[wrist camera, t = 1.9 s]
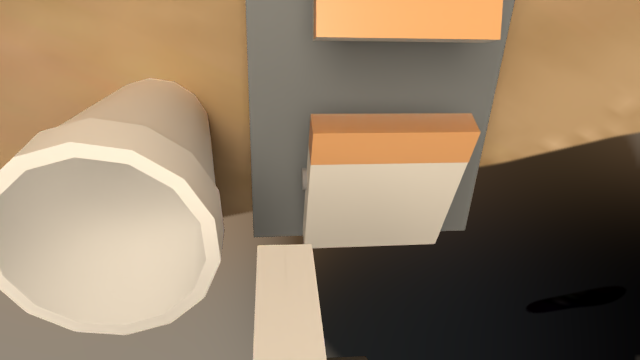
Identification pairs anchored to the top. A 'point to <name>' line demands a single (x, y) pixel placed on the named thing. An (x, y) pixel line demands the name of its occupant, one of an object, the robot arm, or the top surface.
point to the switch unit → (349, 98)
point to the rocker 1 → (407, 20)
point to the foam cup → (114, 213)
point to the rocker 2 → (383, 176)
